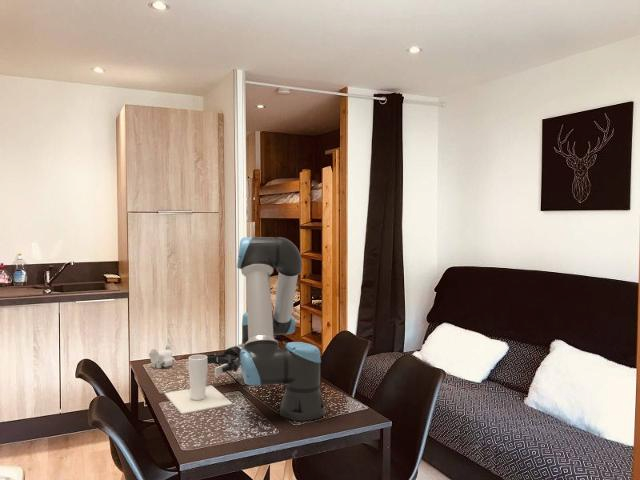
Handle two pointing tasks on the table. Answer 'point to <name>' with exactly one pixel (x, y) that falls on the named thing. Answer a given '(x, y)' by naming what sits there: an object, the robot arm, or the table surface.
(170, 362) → the elephant figurine
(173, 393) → the felt placemat
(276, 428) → the table surface
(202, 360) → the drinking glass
